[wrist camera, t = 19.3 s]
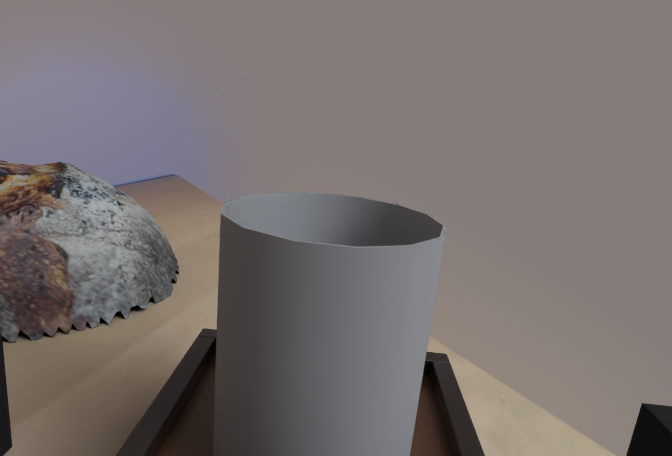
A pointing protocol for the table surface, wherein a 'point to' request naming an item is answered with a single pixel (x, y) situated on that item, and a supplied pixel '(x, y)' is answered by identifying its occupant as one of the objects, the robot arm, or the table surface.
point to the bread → (74, 251)
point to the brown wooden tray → (198, 410)
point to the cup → (322, 324)
